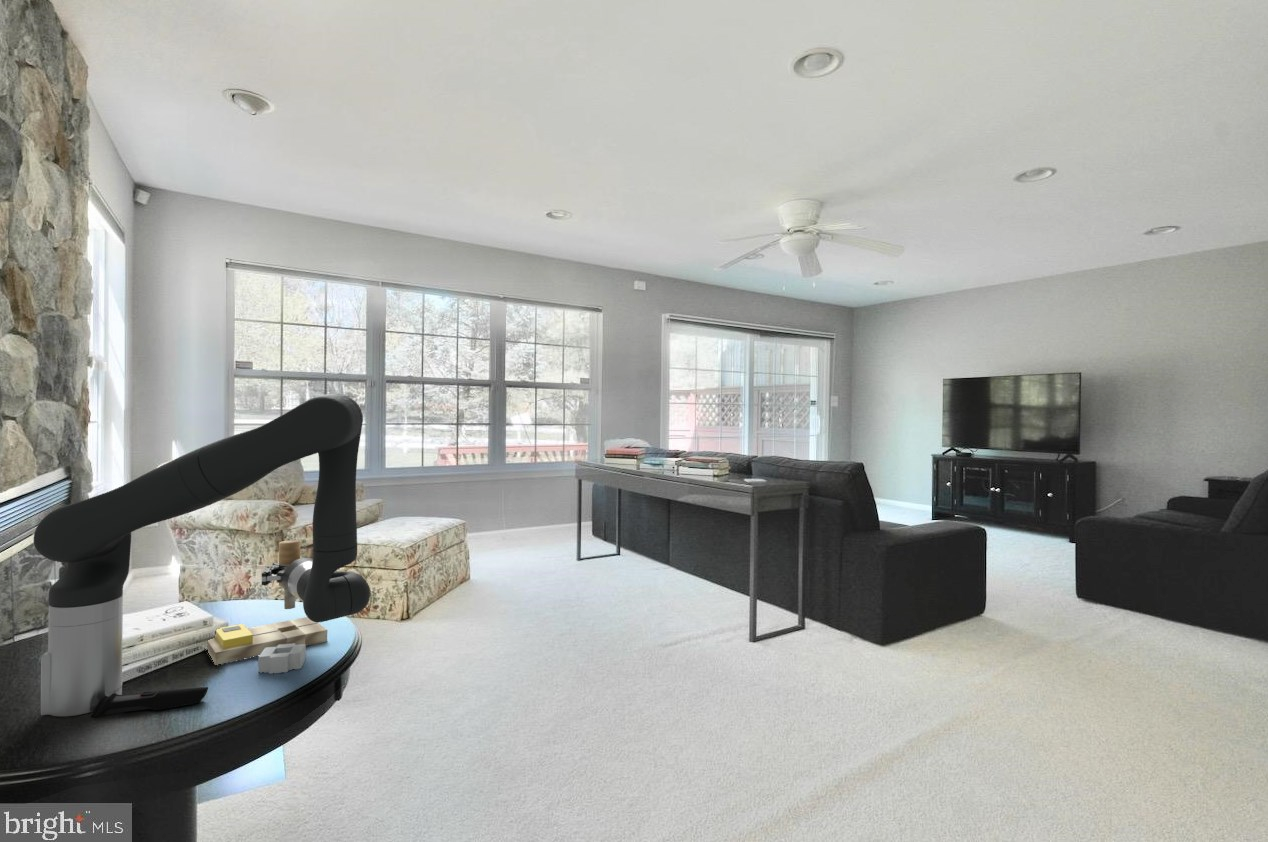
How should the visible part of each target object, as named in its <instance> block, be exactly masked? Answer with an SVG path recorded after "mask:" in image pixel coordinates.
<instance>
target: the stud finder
mask: <svg viewBox="0 0 1268 842" xmlns="http://www.w3.org/2000/svg"><path fill="white" fill-rule="evenodd" d="M219 628H220V629H217V630H216V635H215V638H216V639H217V641H218V642H219V643H220V645H221V646H222V648H223V649H224V648H229V647H234V646H239V645H244V644H249V643H253V634H252V633H251V632H250V631H249V630H248V629H247V628H248V627H247V626H246V625H245V624H244V623H239V624H234V625H228V626H222V627H219Z"/></svg>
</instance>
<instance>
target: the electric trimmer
mask: <svg viewBox="0 0 1268 842" xmlns="http://www.w3.org/2000/svg"><path fill="white" fill-rule="evenodd" d="M208 690H209V687H208V686H205V687H204V686H203V687H190V688H180V689H179V688H177V689H165V690H158V691H143V692H140V693H132V694H131V693H130V694H122V695H118V694H116V693H113V694H112V695H110V696H109V697H108V696H104V697H103V698H102V699H101V700H100V702H99V703H98V704H97V706H96V707H95V709H94V711H93V712H91V715H90V718H94V717H95V719H98V718H100V717H102V716H103V715H111V714H118V713H127V712H134V711H135V712H137V711H145V710H153V711H162V710H166V709H167V710H168V709H171V708H177V707H182V706H188V705H194V704H198V703H201V702H202V700H203V699H204V698H206V695H207V693H208Z"/></svg>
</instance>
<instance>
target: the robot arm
mask: <svg viewBox="0 0 1268 842" xmlns="http://www.w3.org/2000/svg"><path fill="white" fill-rule="evenodd" d="M363 421H364V417H363V412H362V408H361V407H360V405H359V404H358V403H357V402H356V400H354V399H353V398H352V397H350V396H348V395H346V394H343V393H326V394H319V395H317V396H313V397H311V398H309V399H307V400H305V401H303V402H301V403H300V404H298V405H297V406H296V407H294V408H292V409H290V410H288V411H287V412H285V413H283V414H281V415H280V416H278V417H276V418H275V419H272V420H270V421H269V422H267V423H265V424H262V425H261V426H258V427H256V428H253V429H250V430H247V431H243V432H240V433H235V434H233V435H230V436H227V437H224V438H222V439H220V440H217V441H213V442H210V443H209V444H206V445H204V446H201V447H199V448H196V449H195V450H192V451H189V452H188V453H185V454H183V455H181V456H179V457H176V458H174V459H173V460H170V461H169V462H166V463H165V464H163V465H160V466H158V467H156V468H154V469H152V470H150V471H148V472H146V473H144V474H142V475H141V476H139V477H137V478H135V479H133V480H131V481H129V482H127V483H125V484H123V485H121V486H119V487H117V488H114V489H112V490H109V491H106V492H104V493H101V494H99V495H95V496H92V497H90V498H86V499H83V500H81V501H77V502H74V503H71V504H68V505H63V506H61V507H58V508H56V509H53V510H52V511H50V512H49V513H48V514H46V515H45V516H44V517H43V518H42V519H41V520H40V522H39V523H38V524H37V526H36V528H35V531H34V534H33V546H34V548H35V550H36V552H38V554H40V555H41V556H42V557H44V558H46V559H48V560H50V561H53V562H57V563H67V565H66V568H65V570H64V572H63V573H62V575H61V576H60V578H58V579H57V581H55V582H54V583H53V584H52V586H51V587H50V588H49V590H48V622H47V623H48V628H47V629H48V630H47V631H48V633H47V634H48V635H47V636H48V638H47V640H48V642H47V643H48V644H47V646H48V647H47V648H48V649H47V651H46V652H44V653H43V654H42V655H41V658H40V716H47V715H49V716H52V717H72V716H79V715H80V716H81V715H83V714H89V713H93V711H94V709H95V707H96V706H97V704H98V703H99V702H100V700H101V699H102V698H103V697H104V696H108V697H109V696H110V695H112V694H113V693H116V694H118V695H123V629H124V628H123V627H124V626H123V620H124V619H123V615H124V613H123V611H124V608H123V606H124V605H123V604H124V603H123V602H124V600H123V599H124V597H123V595H124V593H123V592H124V584H125V582H126V580H127V578H128V577H129V576H128V575H129V572H130V565H131V563H130V561H131V547H132V532H135V531H137V530H139V529H142V528H144V527H146V526H151V525H153V524H156V523H161V522H164V521H167V520H171V519H175V518H177V517H180V516H181V517H182V516H183V515H184V516H185V515H186V514H190V513H192V512H196V511H198V510H200V509H202V508H205V507H208V506H211V505H213V504H214V505H215V504H216V503H218V502H220V501H222V500H224V499H227V498H228V497H231V496H233V495H235V494H237V493H239V492H241V491H243V490H245V489H247V488H248V487H250V486H252V485H254V484H255V483H257V482H258V481H260V480H261V479H263V478H265V477H266V476H268V475H269V474H271V473H272V472H274V471H275V470H277V469H278V468H280V467H283V466H285V465H287V464H289V463H292V462H296V461H298V460H300V459H303V458H306V457H309V456H312V455H315V454H318V467H319V468H318V481H317V490H316V494H315V500H314V506H313V515H312V548H313V549H312V558H311V557H300V559H297V560H295V561H294V562H292V563H291V564H290V565H289V564H282V565H280V564H279V562H278V561H277V562H272V564H270V565H269V566H266V567H265V566H264V568H263V570H262V571H261V586H268V585H269V584H272V583H273V581H276V582H277V583H278V584H279V583H282V584H283V585H284V587H285V589H286V590H287V591H288V592H289V593H291V594H292V595H293V596H295V599H298V600H299V601H301V602H302V604H303V605H302V606H303V607H302V608H303V611H304V614H305V616H306V617H308V618H309V619H310V620H311V621H313V622H318V623H324V622H327V621H333V620H335V619H339V618H344V617H348V616H351V615H355V614H358V613H360V612H362V611H363V610H365V608H367V606H368V604H369V602H370V599H371V589H370V586H369V585H370V584H368V581H367V580H366V579H365V578H364V577H363V576H362V575H360V574H359V573H356V572H352V571H344V570H343V571H341V570H339V569H342V568H343V567H346V566H348V565H350V564H352V563H353V562H355V561H356V559H357V557H358V529H357V528H358V526H357V525H358V524H357V521H358V520H357V494H356V493H357V492H356V491H357V486H356V485H357V466H358V457H359V448H360V443H361V442H360V441H361V437H362V436H361V435H362V429H363ZM284 587H283V588H284Z"/></svg>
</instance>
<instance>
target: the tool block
mask: <svg viewBox="0 0 1268 842" xmlns="http://www.w3.org/2000/svg"><path fill="white" fill-rule="evenodd" d="M306 648H307V646H306V644H300V645H295V643H293V644H281V645H278V646H277V647H266V648H265V649H264V650H263V651H262V653H261V654H260V656H258V660H257V661H258V665H257V666H258V670H257V671H258V674H262V672H264V673H268V674H269V675H271V674H273V673H274V674H281V673H280V672H284V673H288V671H291V670H292V669H295V670H300V668H302V667H303V665H304V663H305V661H306V656H307V655H306V651H307V649H306ZM259 672H260V673H259Z"/></svg>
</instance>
